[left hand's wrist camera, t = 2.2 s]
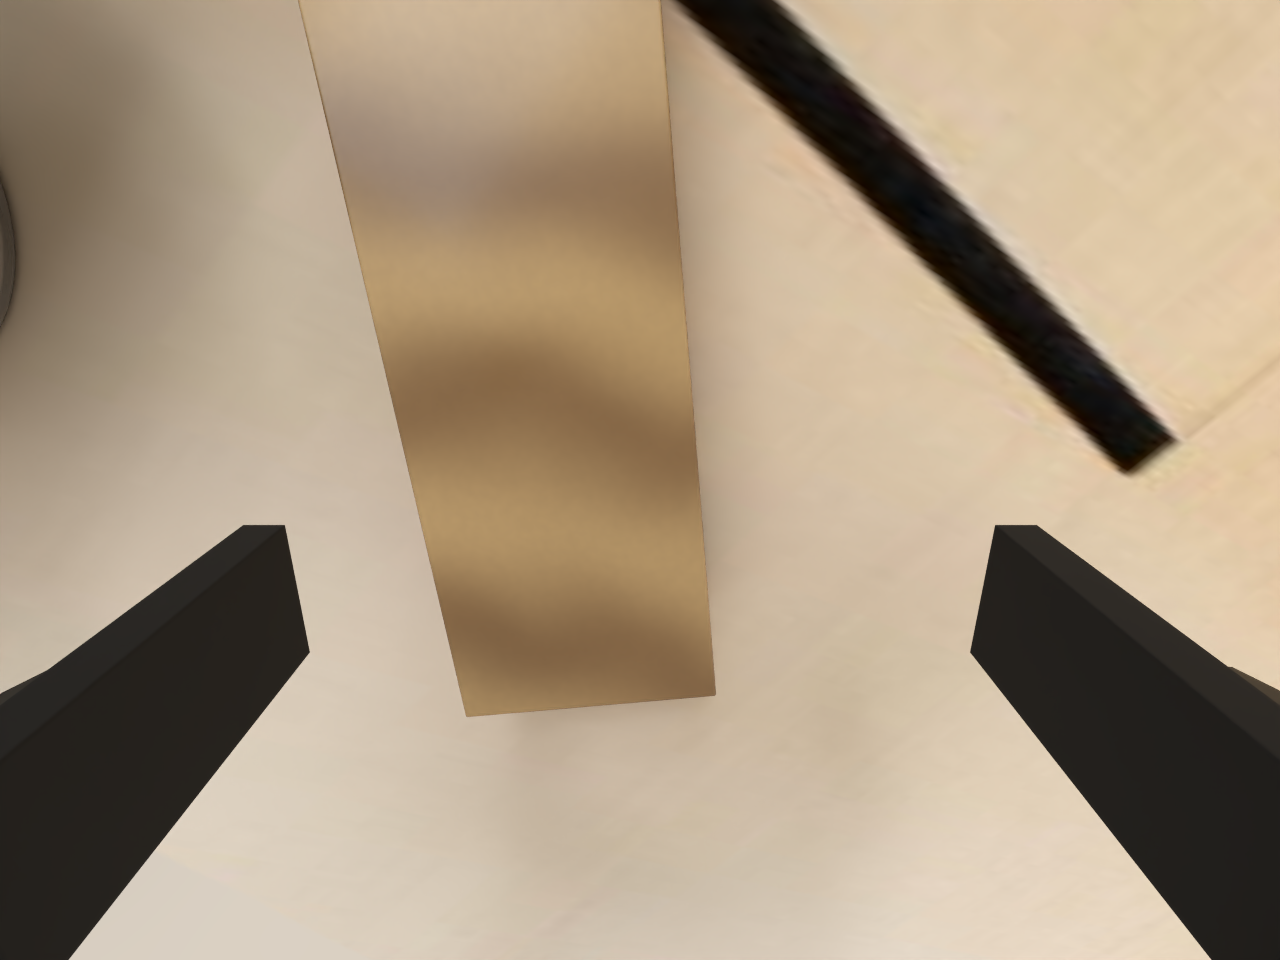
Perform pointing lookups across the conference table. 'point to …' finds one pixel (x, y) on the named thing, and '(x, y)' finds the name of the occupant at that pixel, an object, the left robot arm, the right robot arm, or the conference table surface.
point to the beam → (531, 332)
